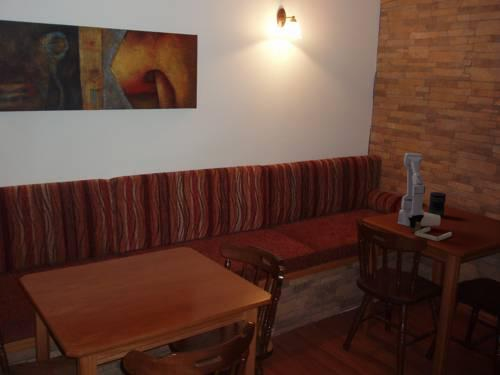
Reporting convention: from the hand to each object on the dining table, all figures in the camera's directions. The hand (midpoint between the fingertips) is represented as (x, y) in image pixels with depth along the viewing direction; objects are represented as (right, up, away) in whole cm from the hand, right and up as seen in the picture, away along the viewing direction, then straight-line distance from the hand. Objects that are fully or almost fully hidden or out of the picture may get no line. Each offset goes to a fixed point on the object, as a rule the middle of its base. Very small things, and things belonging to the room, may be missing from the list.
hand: (414, 227), depth 299 cm
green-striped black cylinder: (+26, +4, +39) cm, 47 cm away
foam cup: (+17, +3, +6) cm, 18 cm away
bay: (+9, -4, -4) cm, 11 cm away
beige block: (0, -2, 0) cm, 2 cm away
